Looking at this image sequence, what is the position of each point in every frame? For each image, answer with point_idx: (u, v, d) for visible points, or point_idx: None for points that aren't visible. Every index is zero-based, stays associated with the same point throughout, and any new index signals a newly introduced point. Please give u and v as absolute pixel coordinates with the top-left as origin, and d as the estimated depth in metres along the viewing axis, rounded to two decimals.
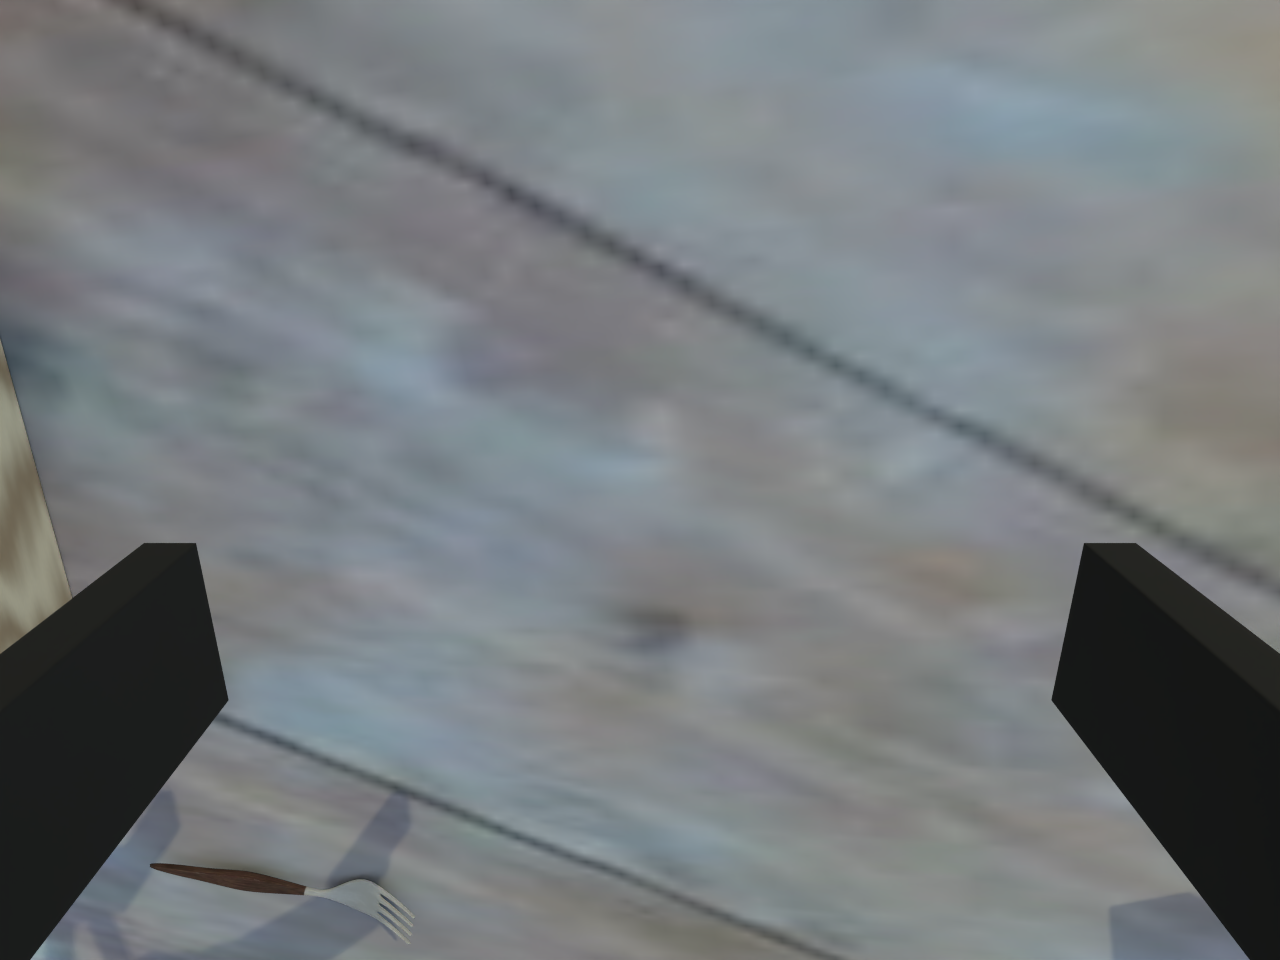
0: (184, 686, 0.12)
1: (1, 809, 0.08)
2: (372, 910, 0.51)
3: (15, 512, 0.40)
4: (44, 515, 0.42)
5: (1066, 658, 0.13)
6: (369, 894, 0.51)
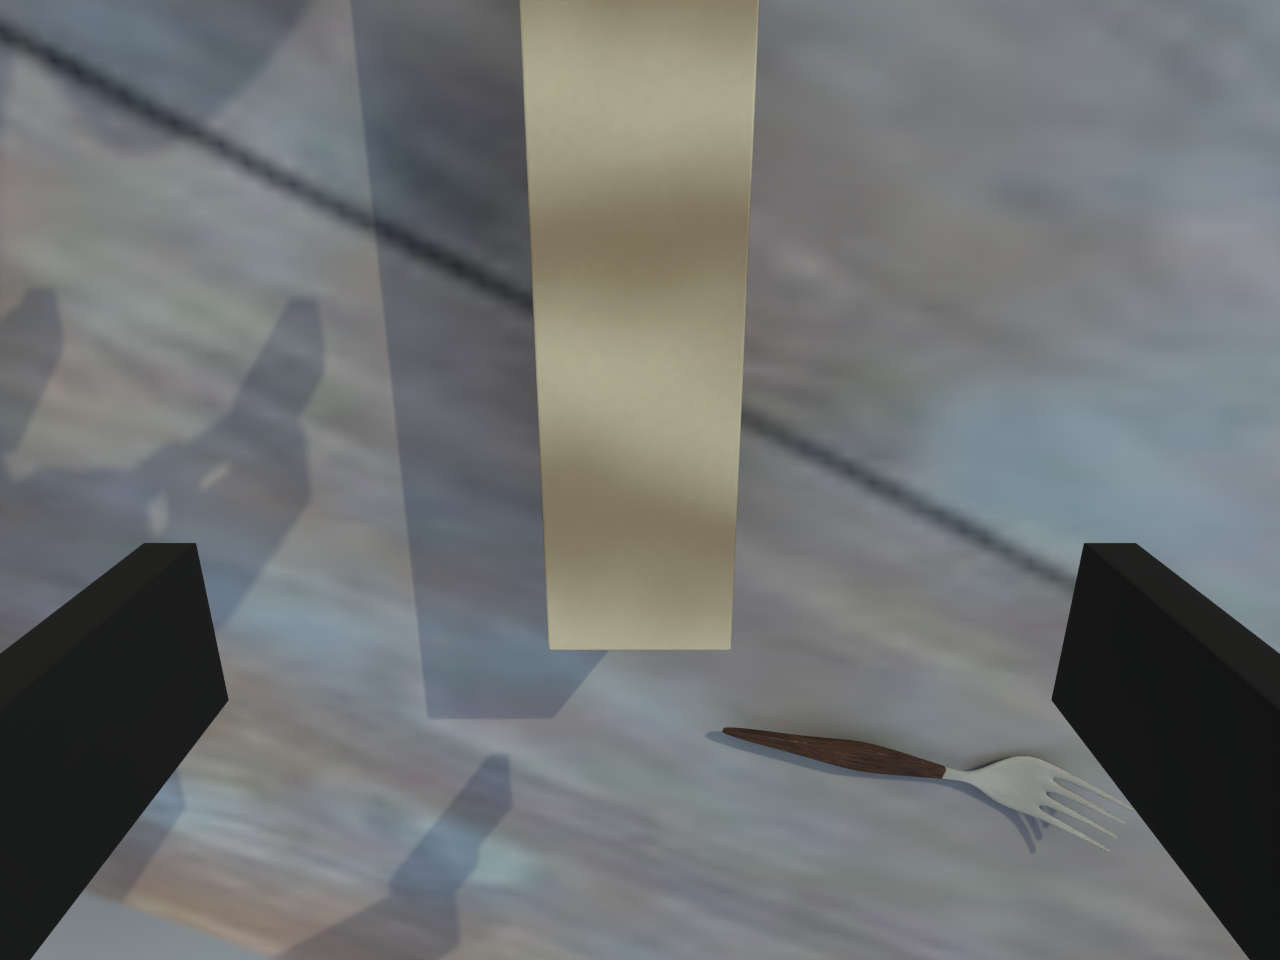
0: (184, 686, 0.12)
1: (1, 809, 0.08)
2: (1032, 804, 0.34)
3: None
4: None
5: (1066, 658, 0.13)
6: (1033, 779, 0.34)
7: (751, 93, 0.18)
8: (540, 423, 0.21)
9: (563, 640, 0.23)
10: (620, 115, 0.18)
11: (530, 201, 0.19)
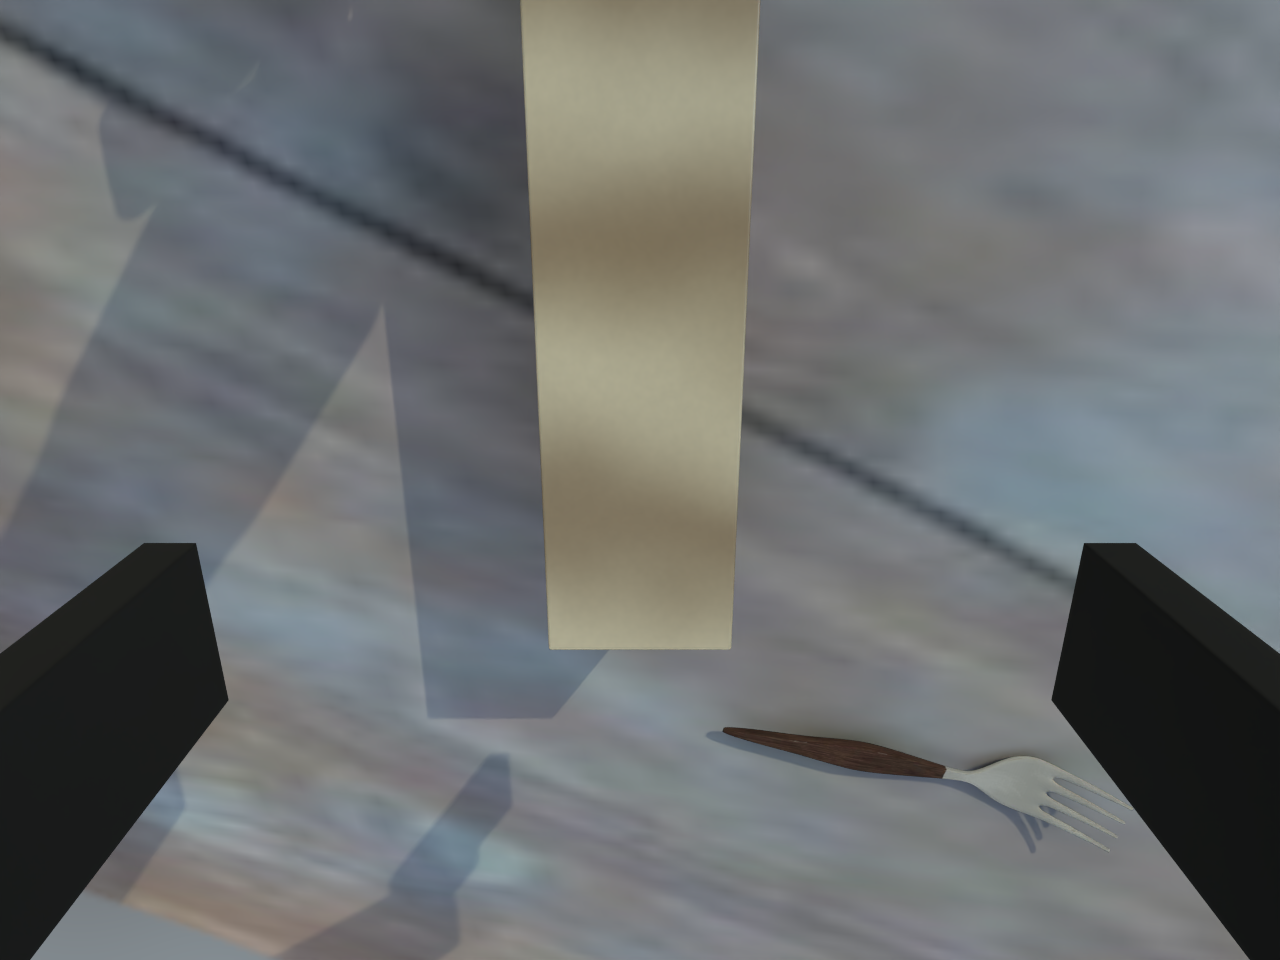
0: (184, 686, 0.12)
1: (1, 809, 0.08)
2: (1032, 803, 0.34)
3: None
4: None
5: (1066, 658, 0.13)
6: (1034, 779, 0.34)
7: (751, 92, 0.18)
8: (540, 422, 0.21)
9: (563, 639, 0.23)
10: (621, 114, 0.18)
11: (530, 200, 0.19)
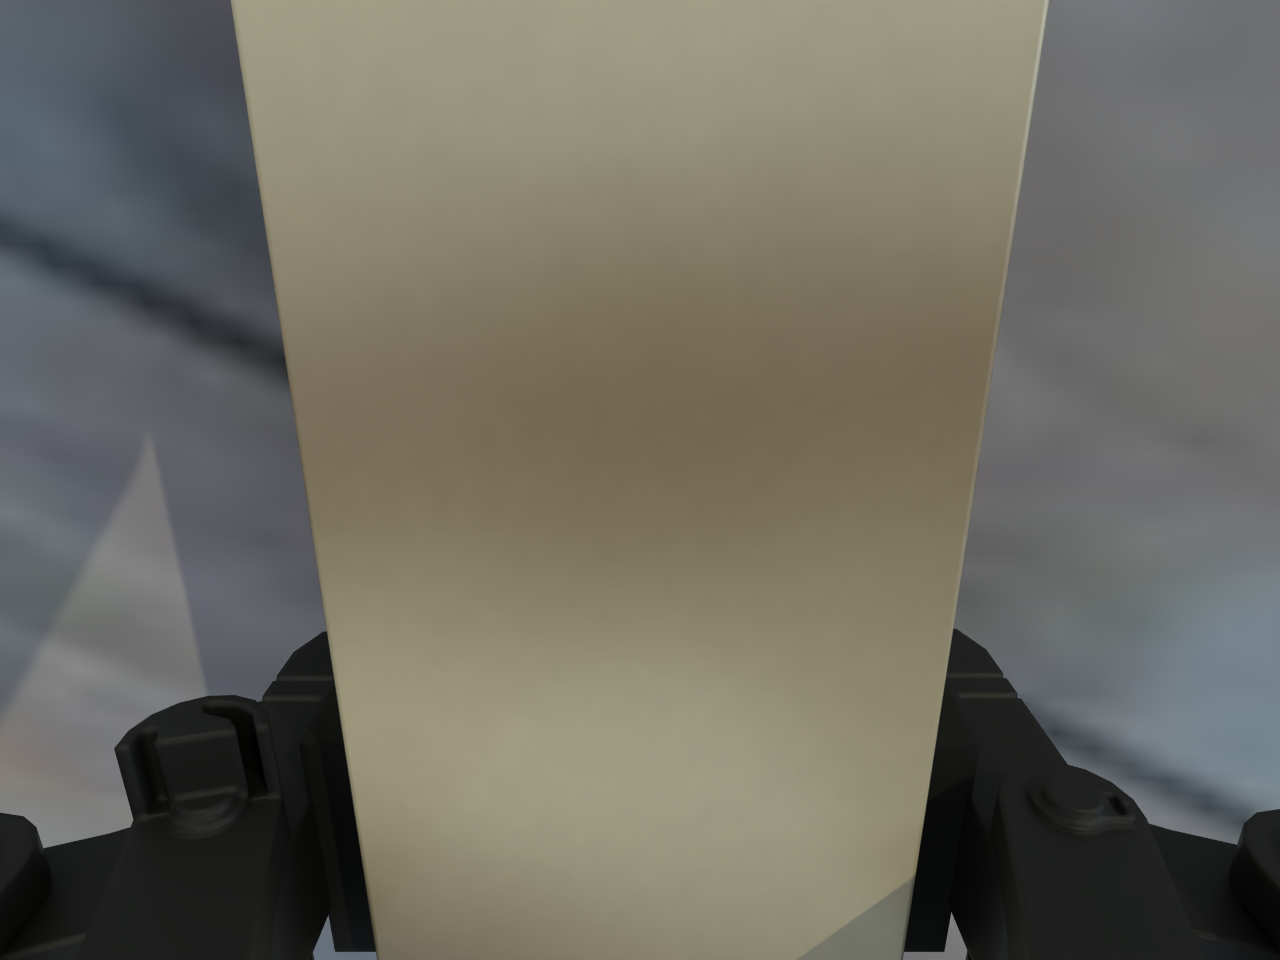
0: None
1: None
2: None
3: None
4: None
5: None
6: None
7: None
8: (367, 878, 0.08)
9: None
10: None
11: (280, 290, 0.06)
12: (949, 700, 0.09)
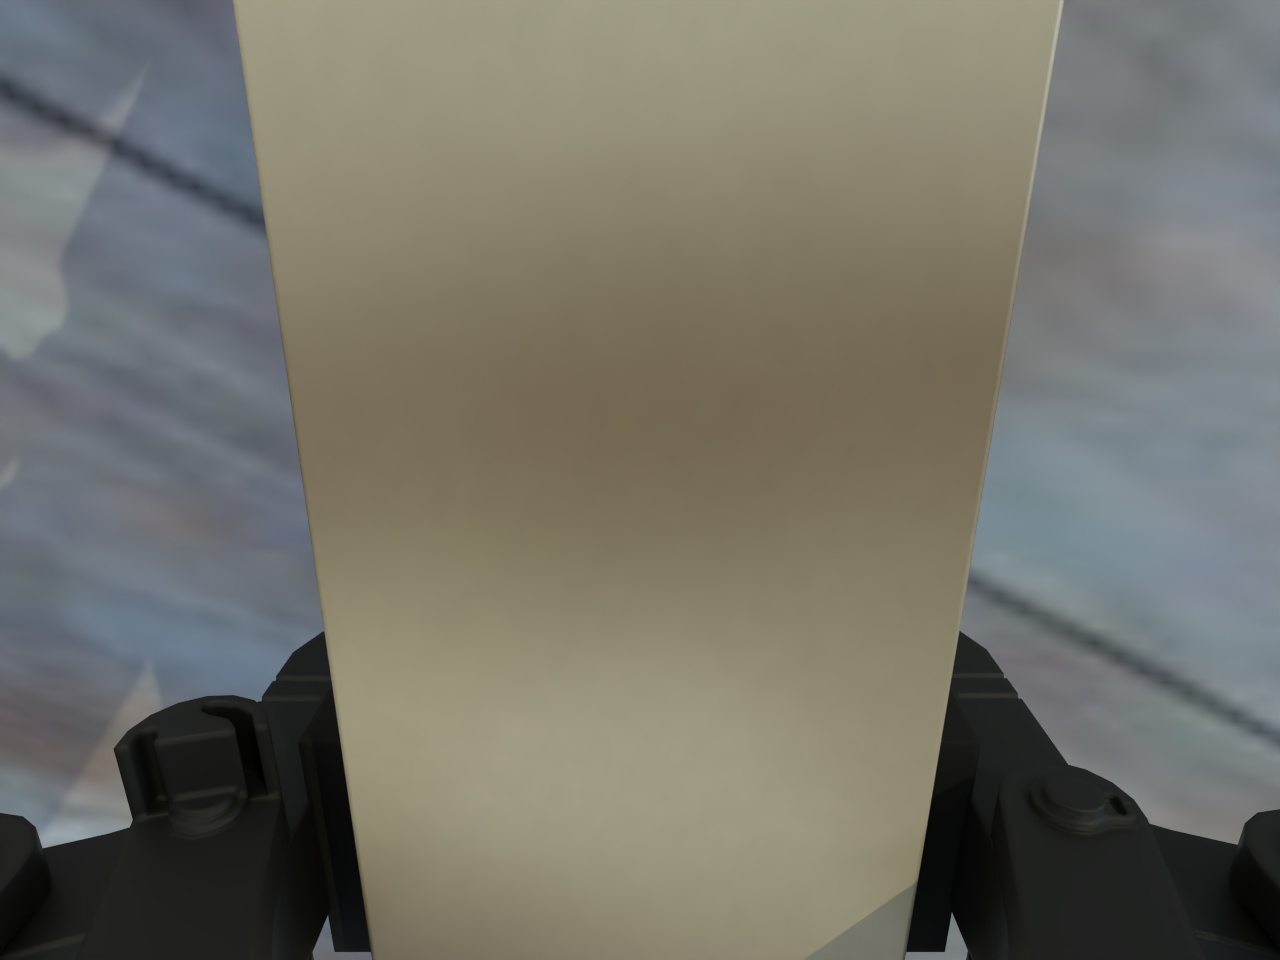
0: None
1: None
2: None
3: None
4: None
5: None
6: None
7: None
8: (363, 878, 0.07)
9: None
10: None
11: (278, 278, 0.06)
12: (949, 700, 0.09)
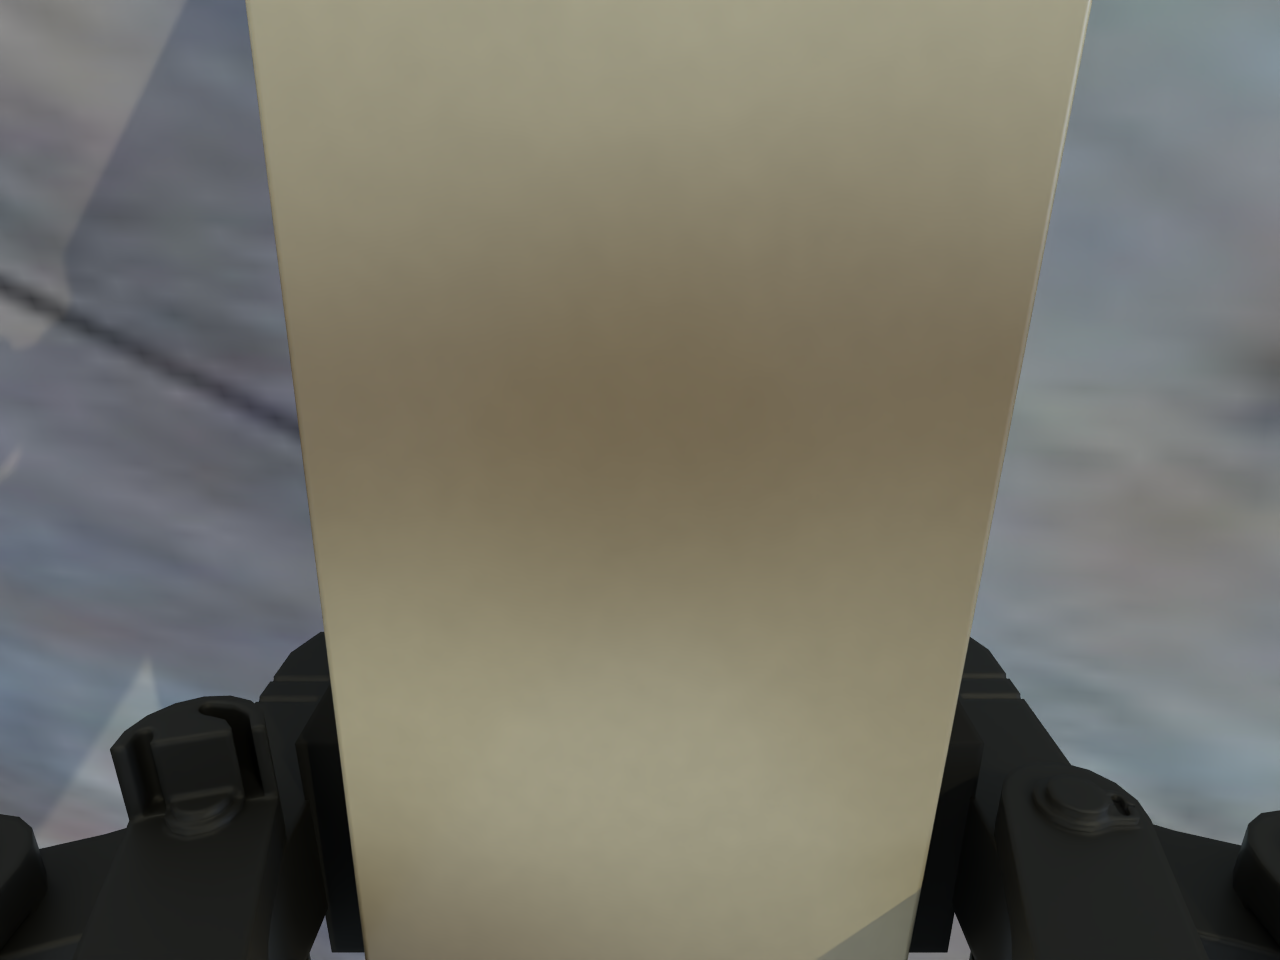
0: None
1: None
2: None
3: None
4: None
5: None
6: None
7: None
8: (357, 877, 0.07)
9: None
10: None
11: (283, 264, 0.05)
12: None
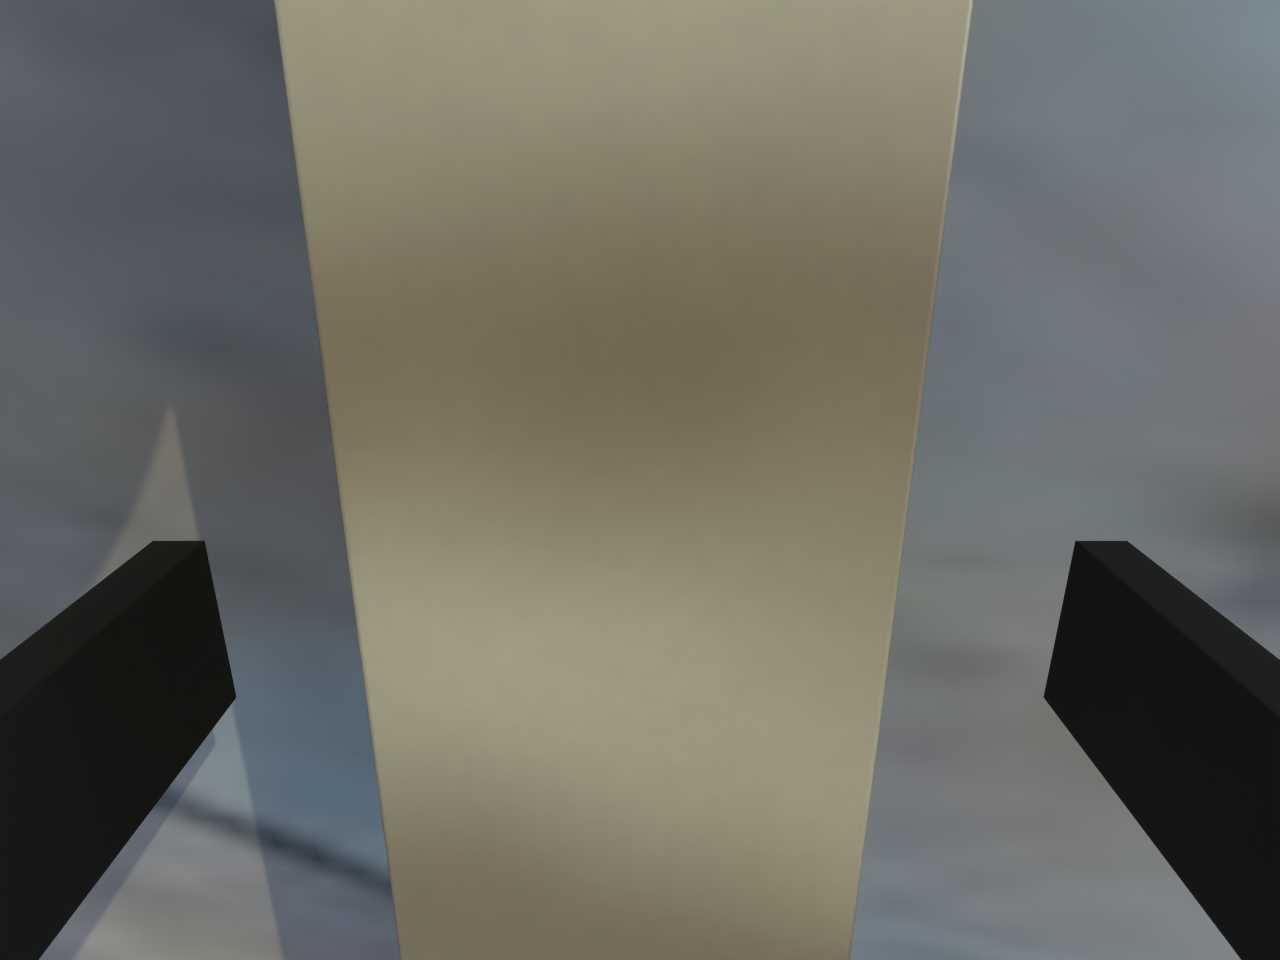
0: (193, 683, 0.12)
1: (15, 804, 0.08)
2: None
3: None
4: None
5: (1058, 655, 0.13)
6: None
7: None
8: (379, 772, 0.08)
9: None
10: None
11: (309, 228, 0.07)
12: None
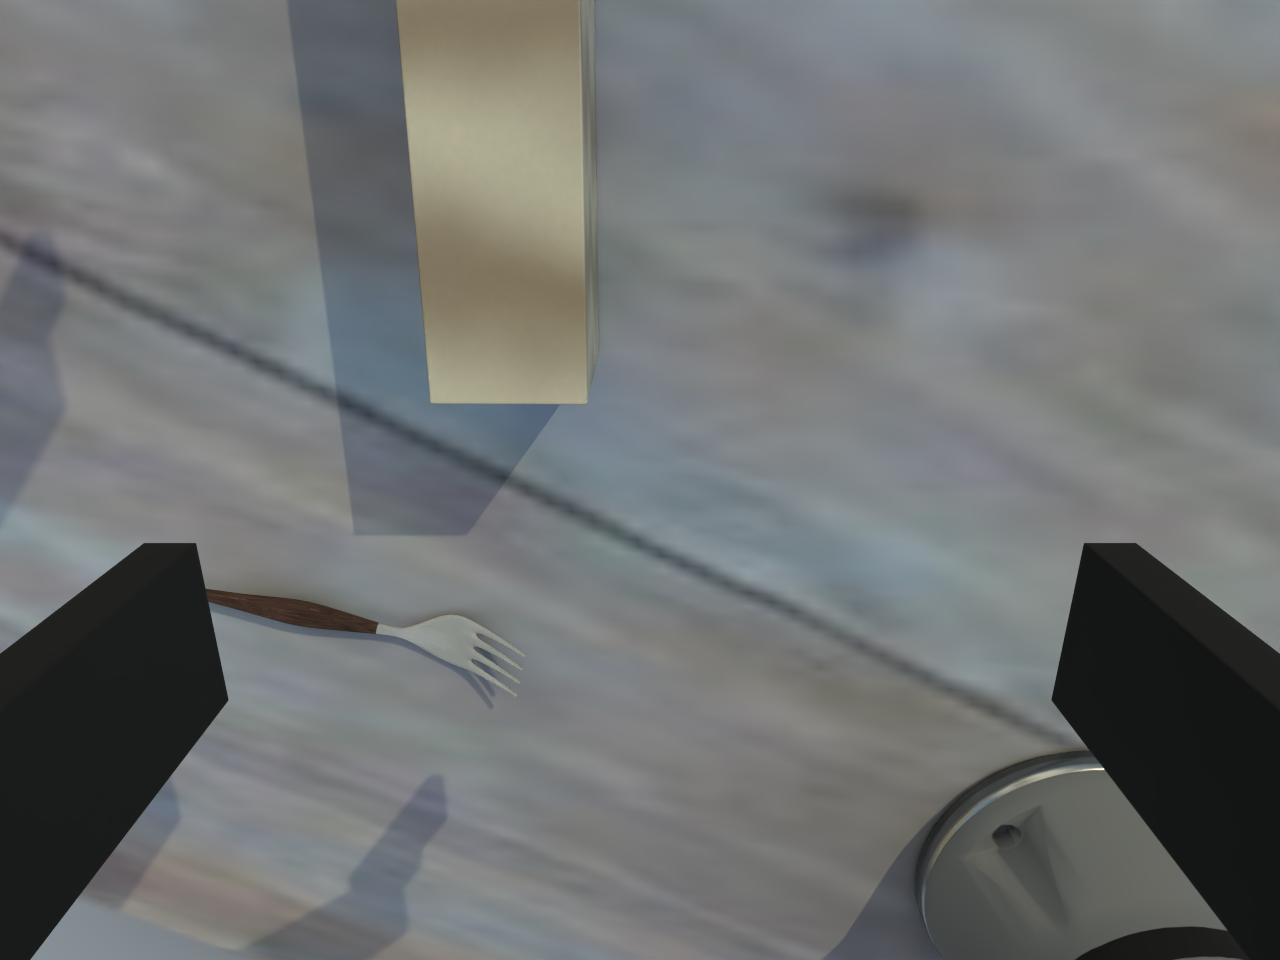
0: (184, 686, 0.12)
1: (1, 809, 0.08)
2: (464, 658, 0.39)
3: None
4: None
5: (1066, 658, 0.13)
6: (461, 635, 0.38)
7: None
8: (413, 187, 0.24)
9: (442, 393, 0.26)
10: None
11: None
12: None
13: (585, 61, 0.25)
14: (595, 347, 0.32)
